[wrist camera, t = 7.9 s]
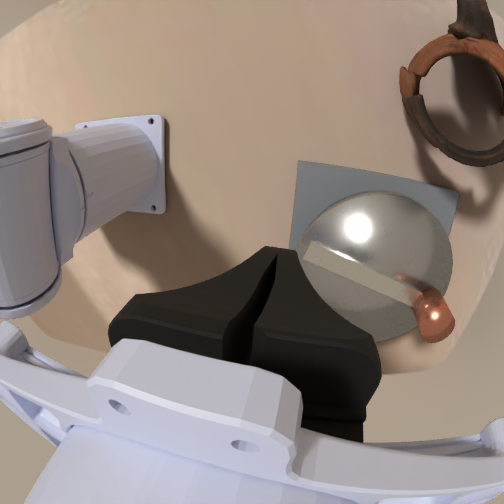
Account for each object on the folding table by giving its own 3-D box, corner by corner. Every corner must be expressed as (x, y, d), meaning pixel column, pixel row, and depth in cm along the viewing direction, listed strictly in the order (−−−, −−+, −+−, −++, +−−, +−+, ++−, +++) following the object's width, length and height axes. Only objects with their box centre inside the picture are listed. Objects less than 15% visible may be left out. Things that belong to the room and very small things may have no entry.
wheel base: (282, 303, 25) (280, 313, 23) (298, 160, 19) (297, 163, 18) (411, 320, 23) (414, 329, 22) (454, 190, 17) (461, 194, 16)
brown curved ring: (510, 150, 15) (530, 197, 10) (410, 127, 20) (392, 162, 16) (508, 10, 7) (534, -5, 3) (394, -7, 13) (368, -30, 8)
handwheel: (456, 274, 19) (484, 318, 14) (343, 338, 23) (345, 389, 18) (394, 151, 16) (425, 166, 11) (264, 240, 21) (247, 282, 16)
